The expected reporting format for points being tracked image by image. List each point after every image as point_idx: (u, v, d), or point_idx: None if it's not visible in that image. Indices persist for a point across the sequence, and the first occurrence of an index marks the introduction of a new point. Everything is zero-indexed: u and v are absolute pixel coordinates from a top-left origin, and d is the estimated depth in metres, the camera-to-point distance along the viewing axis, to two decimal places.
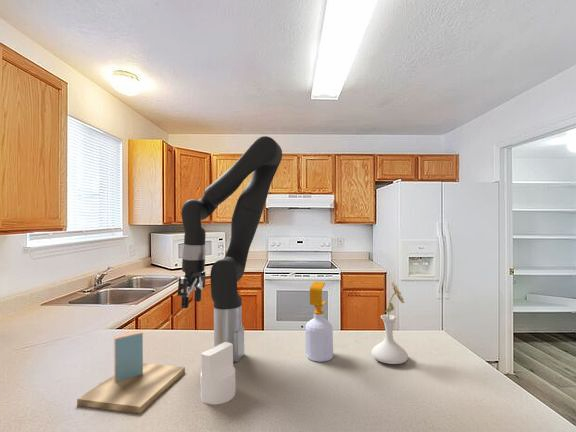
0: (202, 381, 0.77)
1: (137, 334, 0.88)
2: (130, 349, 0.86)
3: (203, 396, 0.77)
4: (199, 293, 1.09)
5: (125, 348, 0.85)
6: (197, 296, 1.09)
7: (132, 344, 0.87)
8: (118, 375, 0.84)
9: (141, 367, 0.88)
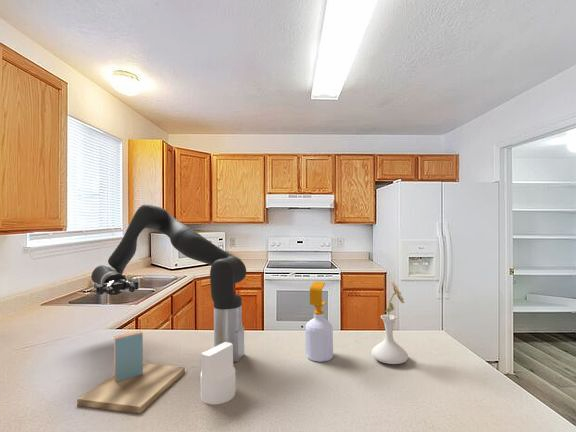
0: (202, 381, 0.77)
1: (137, 334, 0.88)
2: (130, 349, 0.86)
3: (203, 396, 0.77)
4: (129, 285, 1.01)
5: (125, 348, 0.85)
6: (130, 287, 1.01)
7: (132, 344, 0.87)
8: (118, 375, 0.84)
9: (141, 367, 0.88)
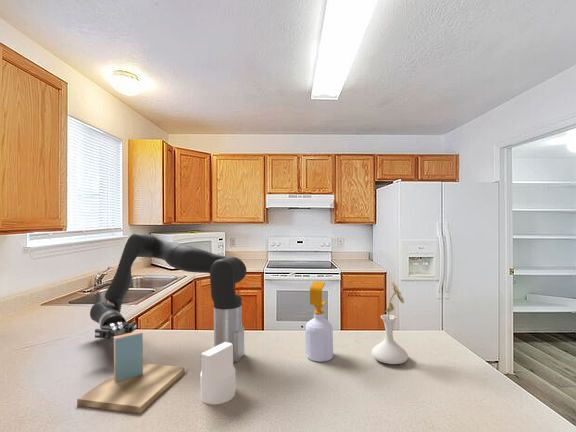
0: (202, 381, 0.77)
1: (137, 334, 0.88)
2: (130, 349, 0.86)
3: (203, 396, 0.77)
4: None
5: (125, 348, 0.85)
6: None
7: (132, 344, 0.87)
8: (118, 375, 0.84)
9: (141, 367, 0.88)
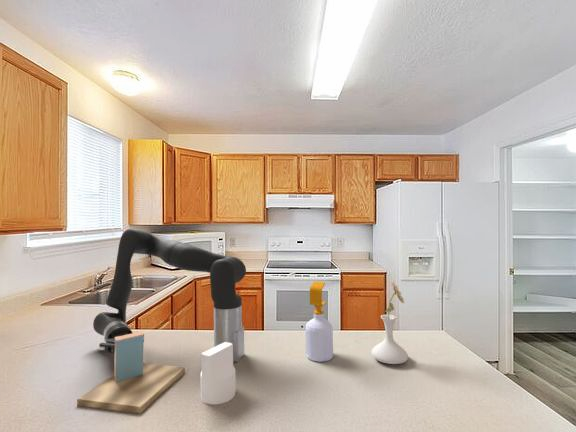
0: (202, 381, 0.77)
1: (138, 336, 0.87)
2: (130, 351, 0.85)
3: (203, 396, 0.77)
4: None
5: (126, 349, 0.85)
6: None
7: (133, 345, 0.86)
8: (118, 375, 0.84)
9: (141, 368, 0.88)
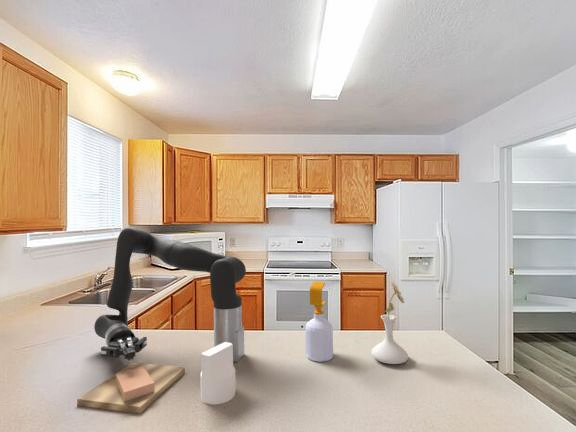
0: (202, 381, 0.77)
1: (148, 393, 0.78)
2: None
3: (203, 396, 0.77)
4: None
5: None
6: None
7: None
8: None
9: None
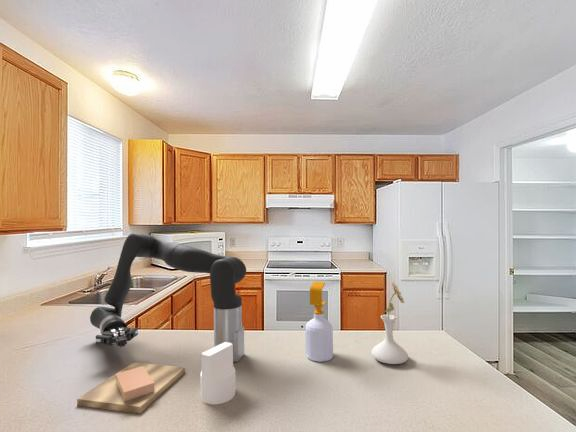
0: (202, 381, 0.77)
1: (148, 393, 0.78)
2: None
3: (203, 396, 0.77)
4: None
5: None
6: None
7: None
8: None
9: None
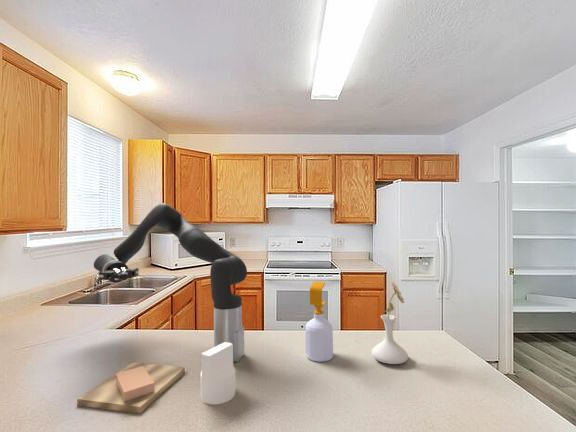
0: (202, 381, 0.77)
1: (148, 393, 0.78)
2: None
3: (203, 396, 0.77)
4: None
5: None
6: None
7: None
8: None
9: None
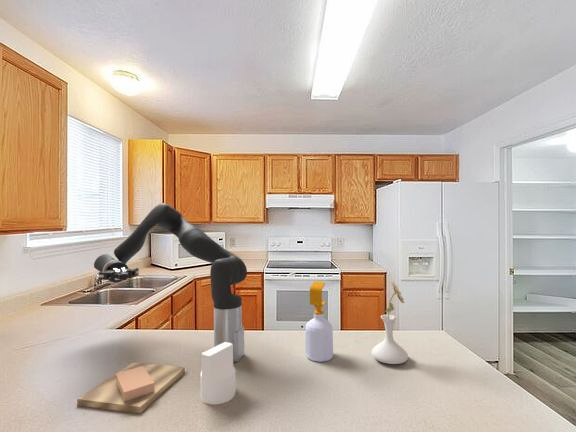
0: (202, 381, 0.77)
1: (148, 393, 0.78)
2: None
3: (203, 396, 0.77)
4: None
5: None
6: None
7: None
8: None
9: None
